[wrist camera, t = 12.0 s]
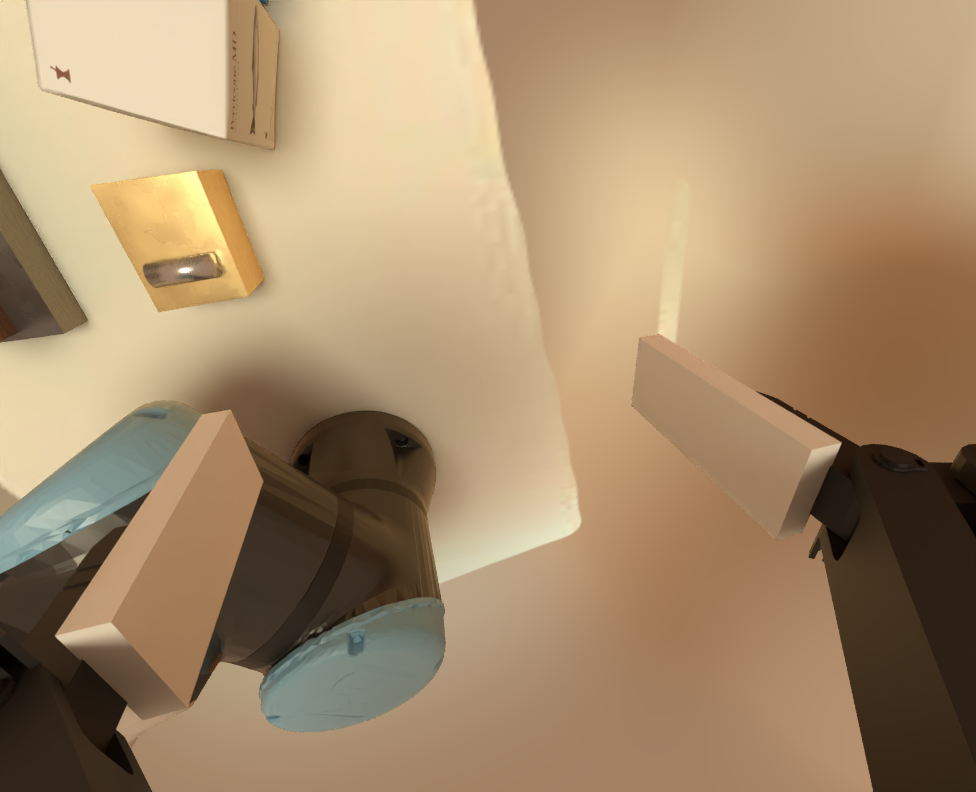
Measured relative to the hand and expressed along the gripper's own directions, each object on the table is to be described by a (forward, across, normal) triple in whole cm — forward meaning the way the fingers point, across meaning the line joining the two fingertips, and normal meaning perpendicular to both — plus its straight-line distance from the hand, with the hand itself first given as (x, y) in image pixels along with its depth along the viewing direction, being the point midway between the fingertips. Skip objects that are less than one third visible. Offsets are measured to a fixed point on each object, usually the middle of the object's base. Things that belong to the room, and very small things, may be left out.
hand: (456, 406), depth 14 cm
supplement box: (+27, +10, -13) cm, 32 cm away
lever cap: (+27, +15, -3) cm, 31 cm away
